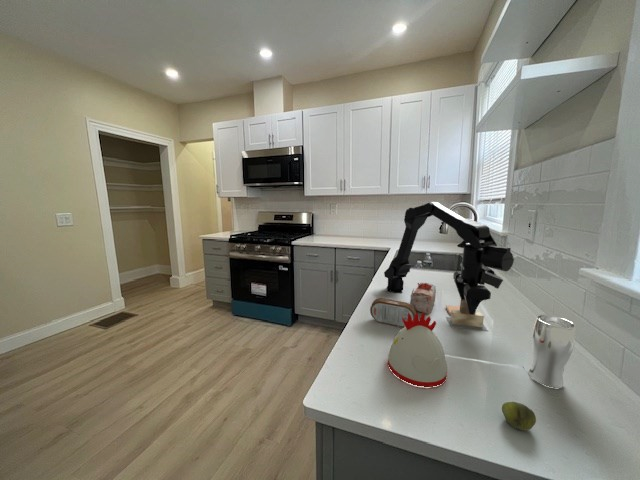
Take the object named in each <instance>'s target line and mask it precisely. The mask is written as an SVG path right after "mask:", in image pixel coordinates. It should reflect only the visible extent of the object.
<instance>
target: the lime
mask: <svg viewBox="0 0 640 480" xmlns="http://www.w3.org/2000/svg"><path fill="white" fill-rule="evenodd" d="M501 410H502V411H501V412H502V414H503V417H504V419H505V420H506V421H507V422H508V424H510V425H511V426H512V427H513V426H514V427H513V428H515V427H516V428H515V429H518V428H519V430H521V429H522V431H528V430H531V429H532V428H533V427H534V426H535V425H536V423H537V417H536V416H537V415H535V412H534V411H533V410H532V409H531V408H530V407H528V406H527V405H526V404H523V403H521V402H517V401H508V402H506V401H505V402H504V403H503V404H502V406H501Z"/></svg>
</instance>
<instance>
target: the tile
mask: <svg viewBox="0 0 640 480" xmlns="http://www.w3.org/2000/svg"><path fill="white" fill-rule="evenodd" d="M445 310H446V311H447V312H448V314H449V316H451V311H452V310H460V305H458V306H457V305H445Z"/></svg>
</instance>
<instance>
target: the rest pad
mask: <svg viewBox="0 0 640 480" xmlns="http://www.w3.org/2000/svg"><path fill="white" fill-rule="evenodd" d="M445 319H446V321H447V322H448V325H449V327H450V328H459V329H467V330H474V331H482V332H489V330H488V329H487V328H486V326H485V325H484V324H483V327H474V326H466V325H458V324H452V322H451V316H446V317H445Z"/></svg>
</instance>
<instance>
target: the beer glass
mask: <svg viewBox="0 0 640 480" xmlns="http://www.w3.org/2000/svg"><path fill="white" fill-rule="evenodd" d="M576 330H577V325H576V324H575V323H573V322H572V321H571V320H568V319H566V318H563V317H560V316H557V315H551V314H538V315H536V318H535V321H534V325H533V328H532V334H531V335H532V336H531V341H532V342H531V346H532V347H531V348H532V357H533V358H532V364H531V366H530V367H529V368H530V369H529V371H528V376H529V375H530V376H531V377H532V378H533V379H534V380H536V381H538V382H539V383H541V384H544V385H546V386H549V387H553V388H561V387H563V388H564V371H565V367H566V365H567V363H568V362H569V360H570V357H571V356H572V353H573V350H574V346H575V341H576ZM530 376H529V377H530ZM531 377H530V378H531ZM534 380H533V381H534ZM561 389H562V388H561Z"/></svg>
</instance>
